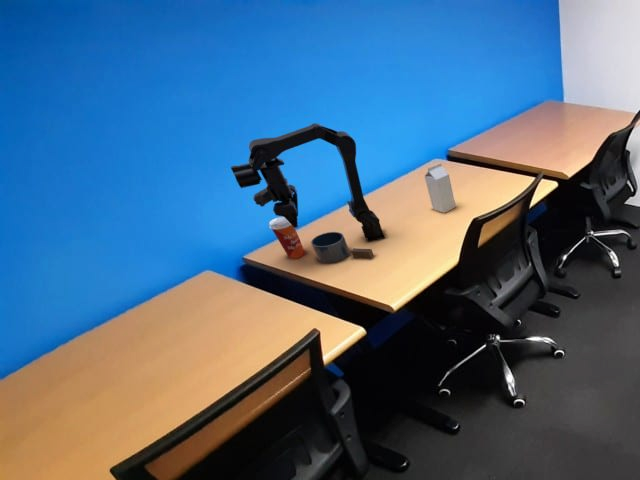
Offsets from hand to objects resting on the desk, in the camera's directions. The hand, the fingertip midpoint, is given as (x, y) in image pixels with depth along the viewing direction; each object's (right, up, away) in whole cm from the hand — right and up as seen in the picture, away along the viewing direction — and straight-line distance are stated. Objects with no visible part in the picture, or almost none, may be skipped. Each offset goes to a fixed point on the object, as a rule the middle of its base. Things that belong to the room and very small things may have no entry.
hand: (296, 221), depth 167 cm
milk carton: (+41, +15, +38) cm, 58 cm away
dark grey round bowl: (+9, -11, +8) cm, 16 cm away
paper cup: (-6, -10, +9) cm, 15 cm away
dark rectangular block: (+20, -11, +8) cm, 25 cm away
